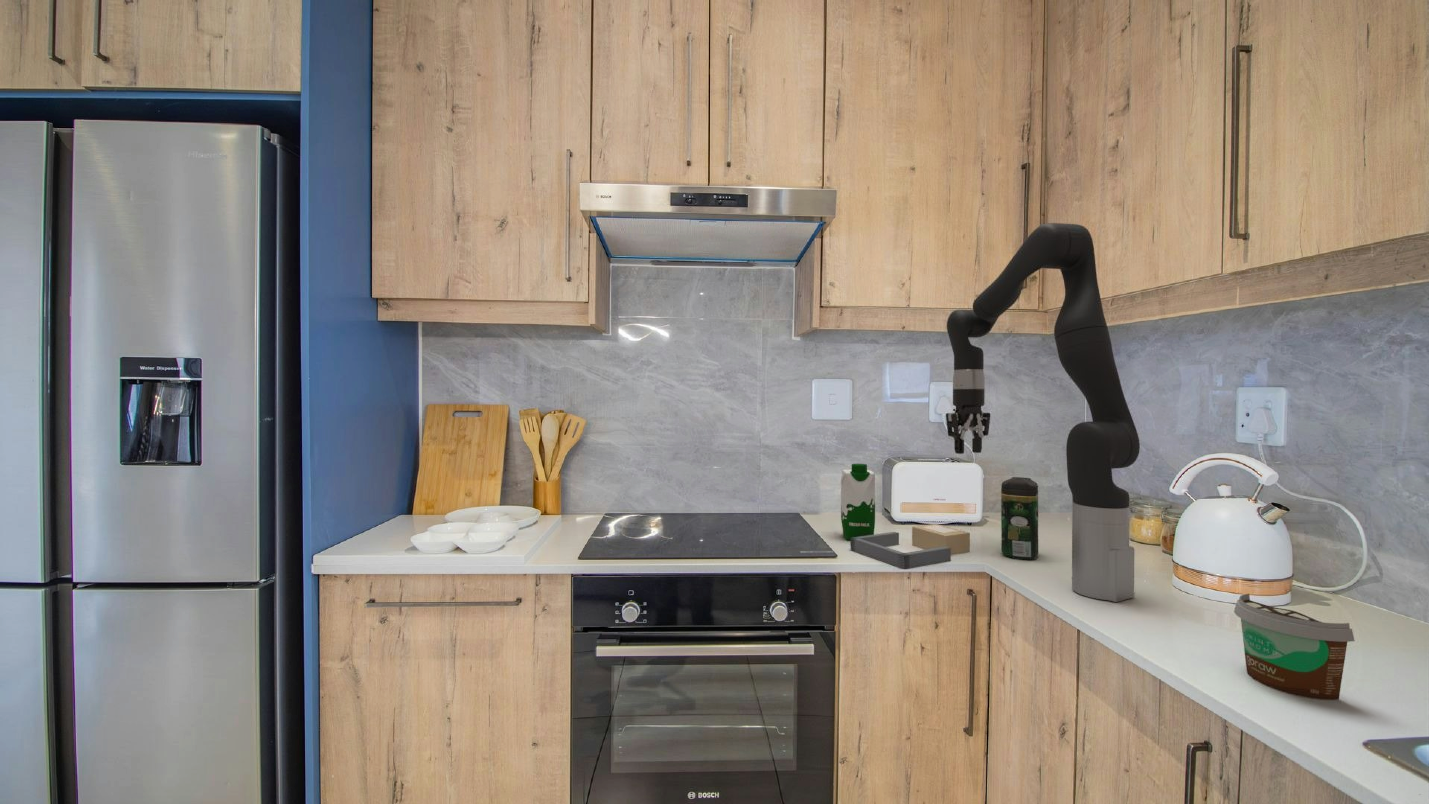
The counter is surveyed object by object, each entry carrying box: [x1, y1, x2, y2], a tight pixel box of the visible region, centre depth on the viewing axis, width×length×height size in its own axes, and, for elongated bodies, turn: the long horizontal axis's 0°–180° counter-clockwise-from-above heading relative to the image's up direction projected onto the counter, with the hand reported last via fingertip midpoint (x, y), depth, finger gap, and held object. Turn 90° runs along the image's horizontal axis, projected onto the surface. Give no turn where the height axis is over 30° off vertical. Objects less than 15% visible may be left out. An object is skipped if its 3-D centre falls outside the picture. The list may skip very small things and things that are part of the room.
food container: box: [1233, 593, 1355, 701], centre depth 78 cm, size 12×6×10 cm, turn 13°
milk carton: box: [840, 463, 876, 542], centre depth 158 cm, size 9×9×20 cm
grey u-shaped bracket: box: [850, 531, 952, 570], centre depth 141 cm, size 18×14×3 cm
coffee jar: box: [1000, 476, 1039, 560], centre depth 141 cm, size 10×8×19 cm
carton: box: [911, 523, 971, 556], centre depth 147 cm, size 11×8×5 cm
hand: (968, 452), depth 151 cm, fingers open, 5 cm apart
